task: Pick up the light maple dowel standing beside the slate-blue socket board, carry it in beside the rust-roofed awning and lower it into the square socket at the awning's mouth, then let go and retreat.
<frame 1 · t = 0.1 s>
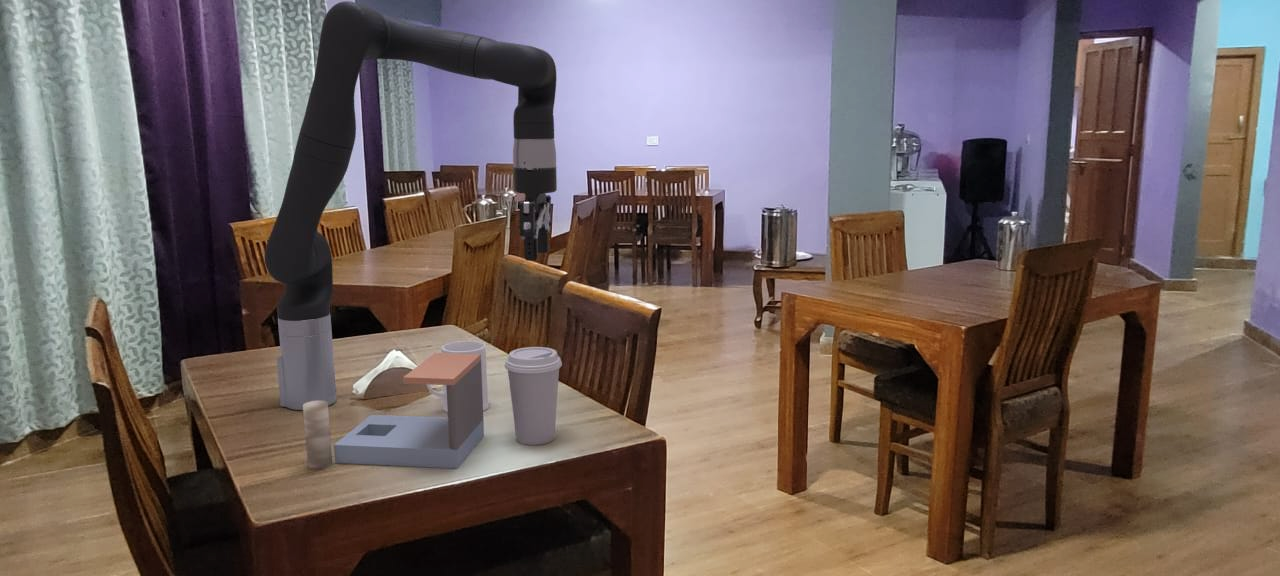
hand: (537, 256, 151), 29 cm above the table, fingers open, 8 cm apart
peg: (320, 464, 132), on the table
socket board: (412, 448, 139), on the table
coffee cup: (535, 439, 144), on the table
mug: (457, 409, 158), on the table
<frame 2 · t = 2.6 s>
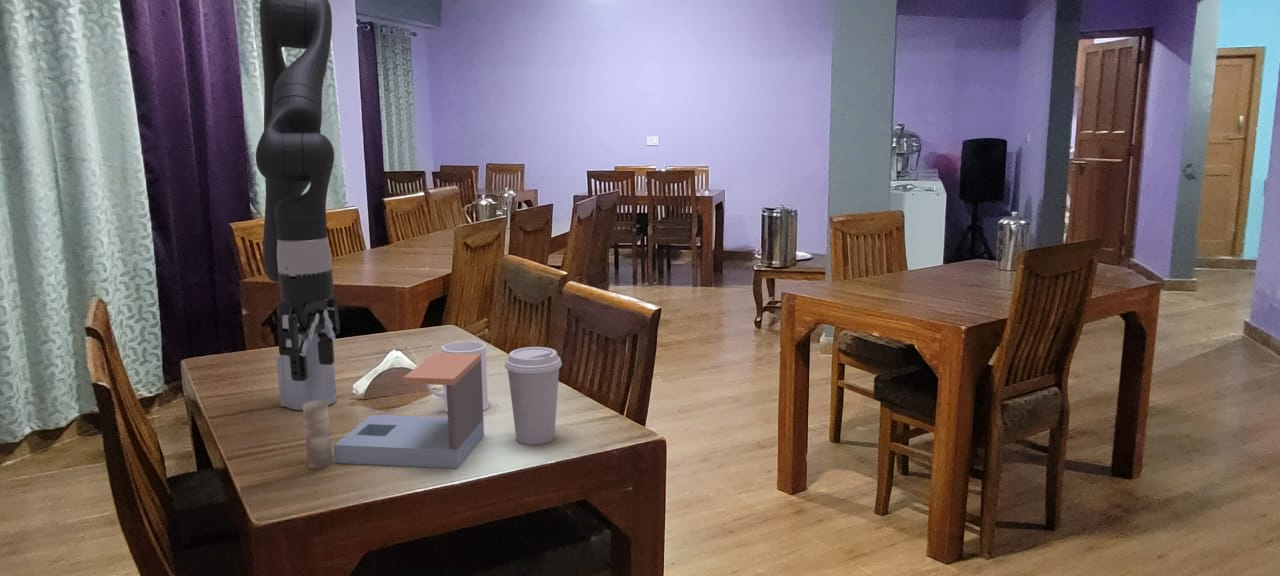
hand: (313, 372, 130), 15 cm above the table, fingers open, 8 cm apart
nothing on the table moved.
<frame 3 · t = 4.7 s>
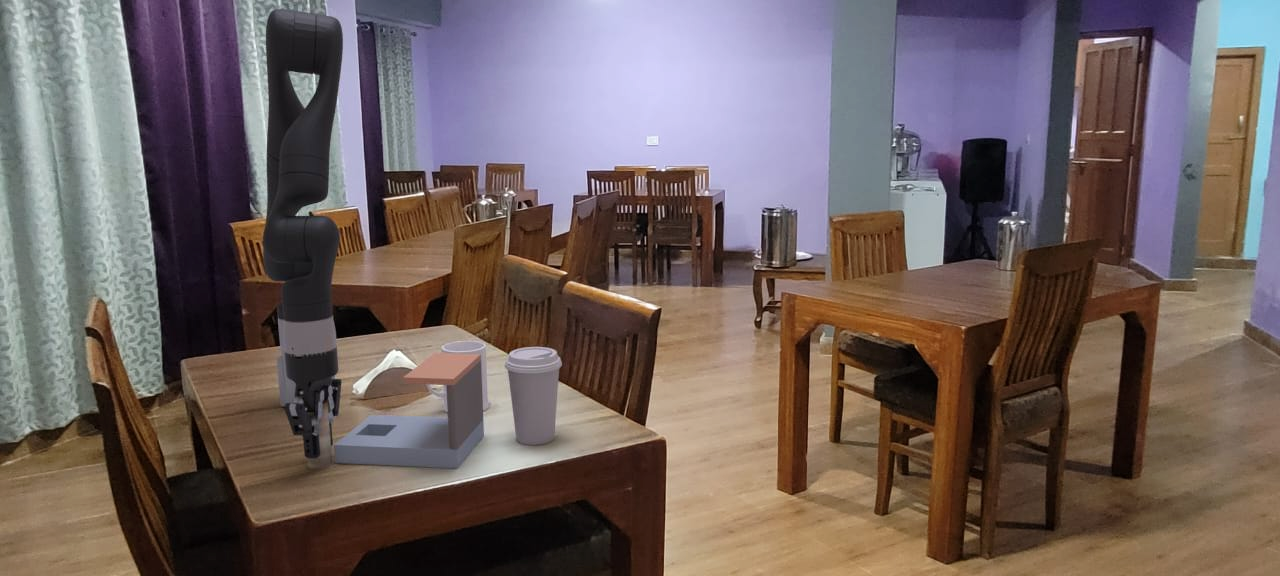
hand: (319, 451, 132), 2 cm above the table, fingers closed on peg, 3 cm apart
peg: (320, 464, 133), on the table, touching gripper
everything else where it was.
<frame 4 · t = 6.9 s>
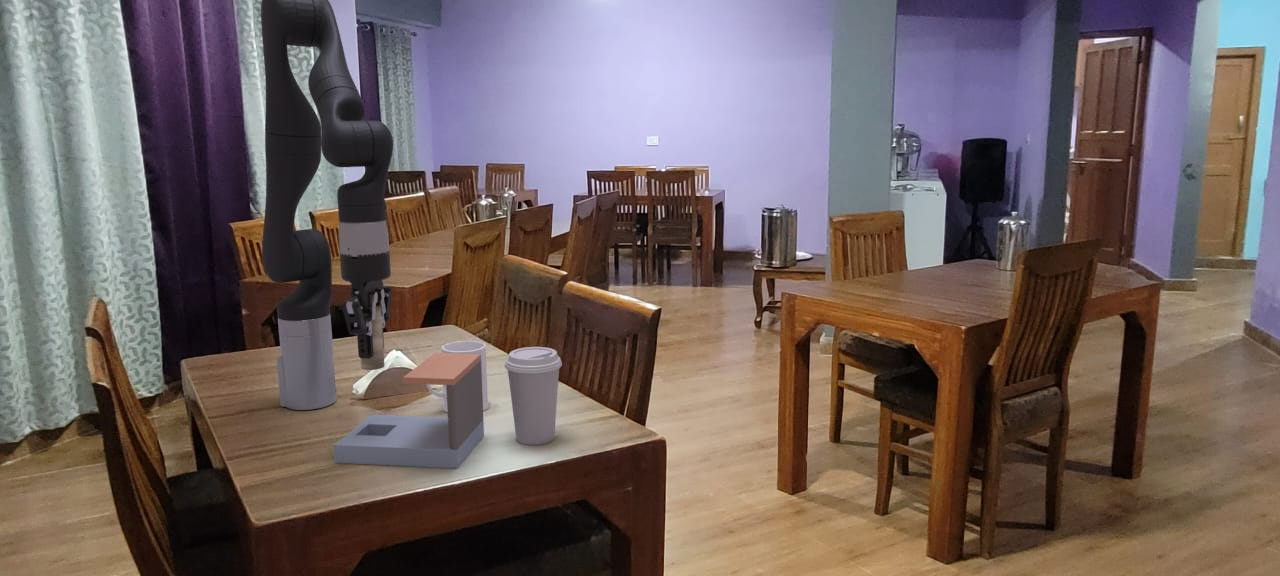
hand: (371, 353, 137), 16 cm above the table, fingers closed on peg, 3 cm apart
peg: (373, 366, 137), point 14 cm above the table, touching gripper
everything else where it was.
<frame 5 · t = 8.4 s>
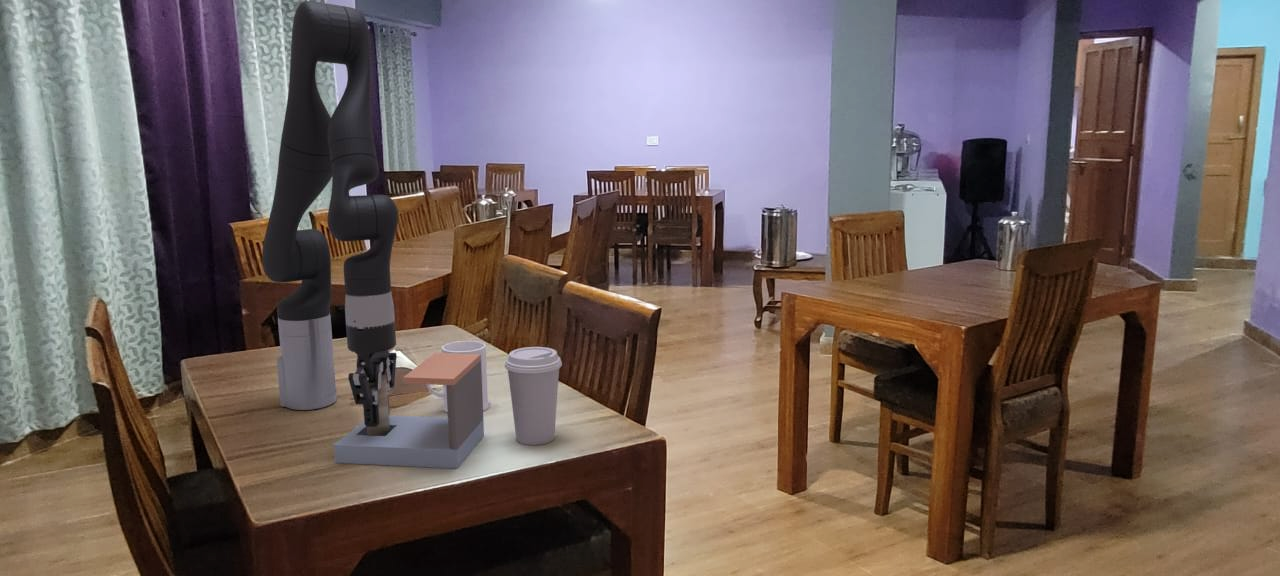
hand: (377, 421, 139), 5 cm above the table, fingers closed on peg, 3 cm apart
peg: (378, 433, 139), point 2 cm above the table, touching gripper
everything else where it was.
when the fingers open (4 cm above the table, at t = 9.5 s): peg drops 2 cm, resting in socket board.
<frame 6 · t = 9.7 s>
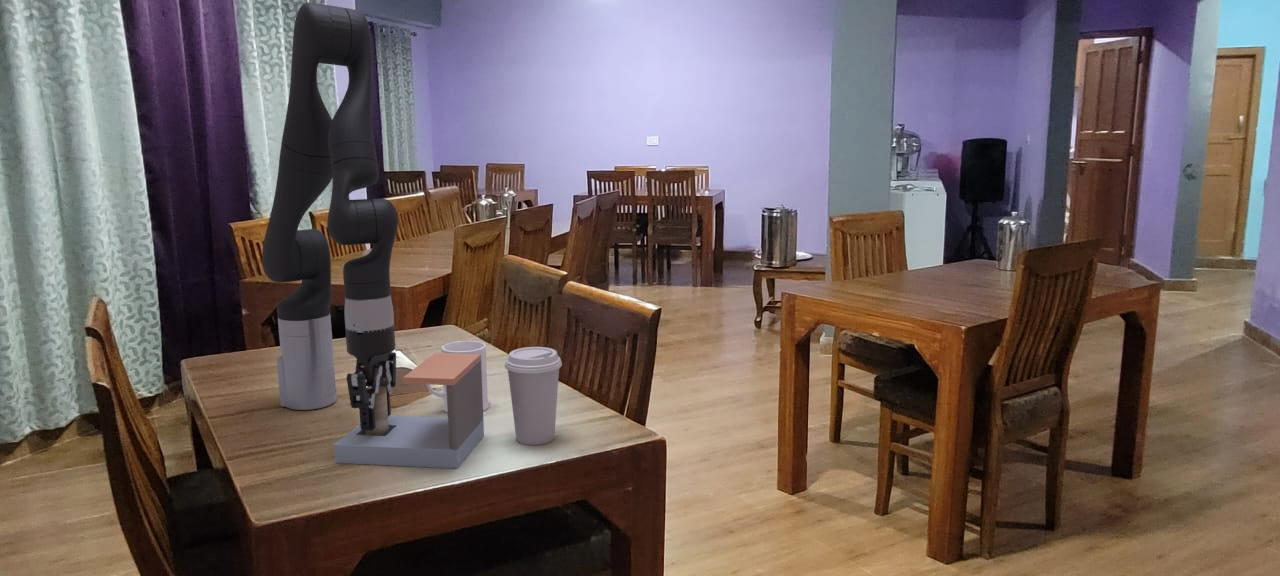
hand: (376, 422, 139), 4 cm above the table, fingers open, 5 cm apart
peg: (378, 447, 140), resting in socket board
everything else where it was.
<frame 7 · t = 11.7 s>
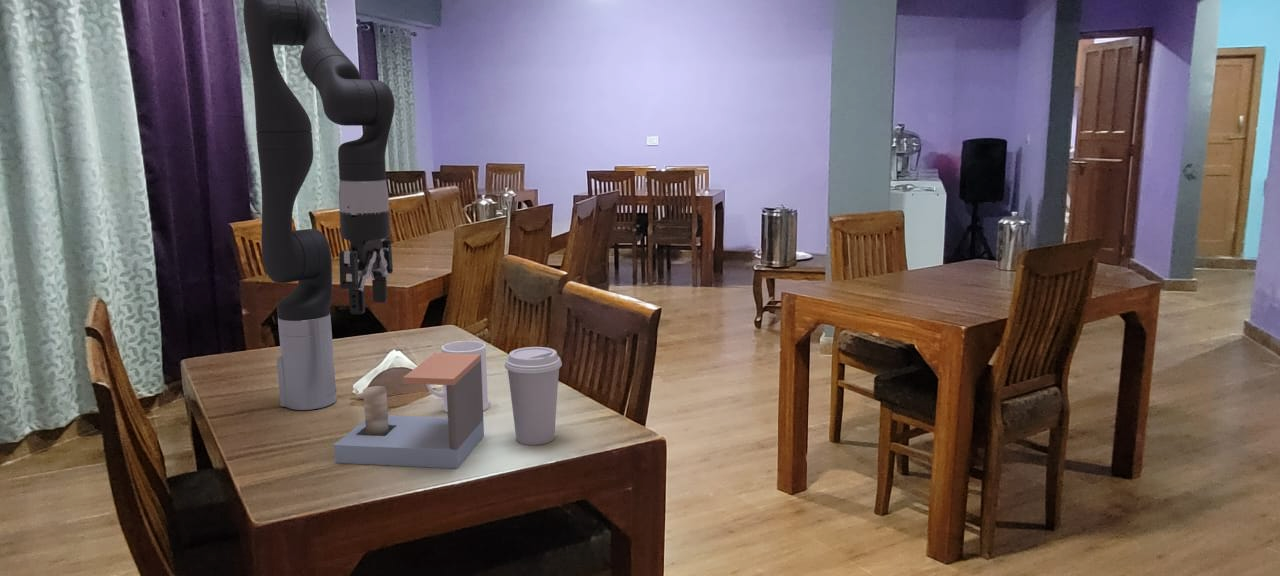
hand: (369, 307, 137), 23 cm above the table, fingers open, 8 cm apart
nothing on the table moved.
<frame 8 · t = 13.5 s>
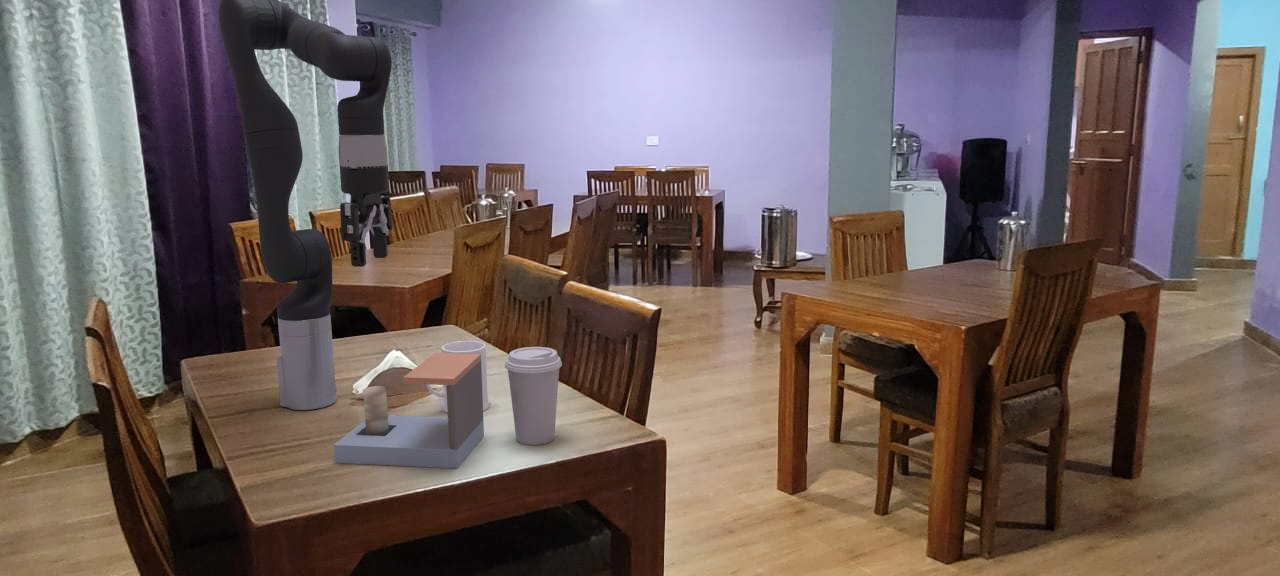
hand: (370, 261, 140), 30 cm above the table, fingers open, 8 cm apart
nothing on the table moved.
at the end: peg 0.1 cm from the target spot on the socket board, point 0.0 cm above the socket board's base; peg tilted 0°; the gripper is holding nothing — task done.
